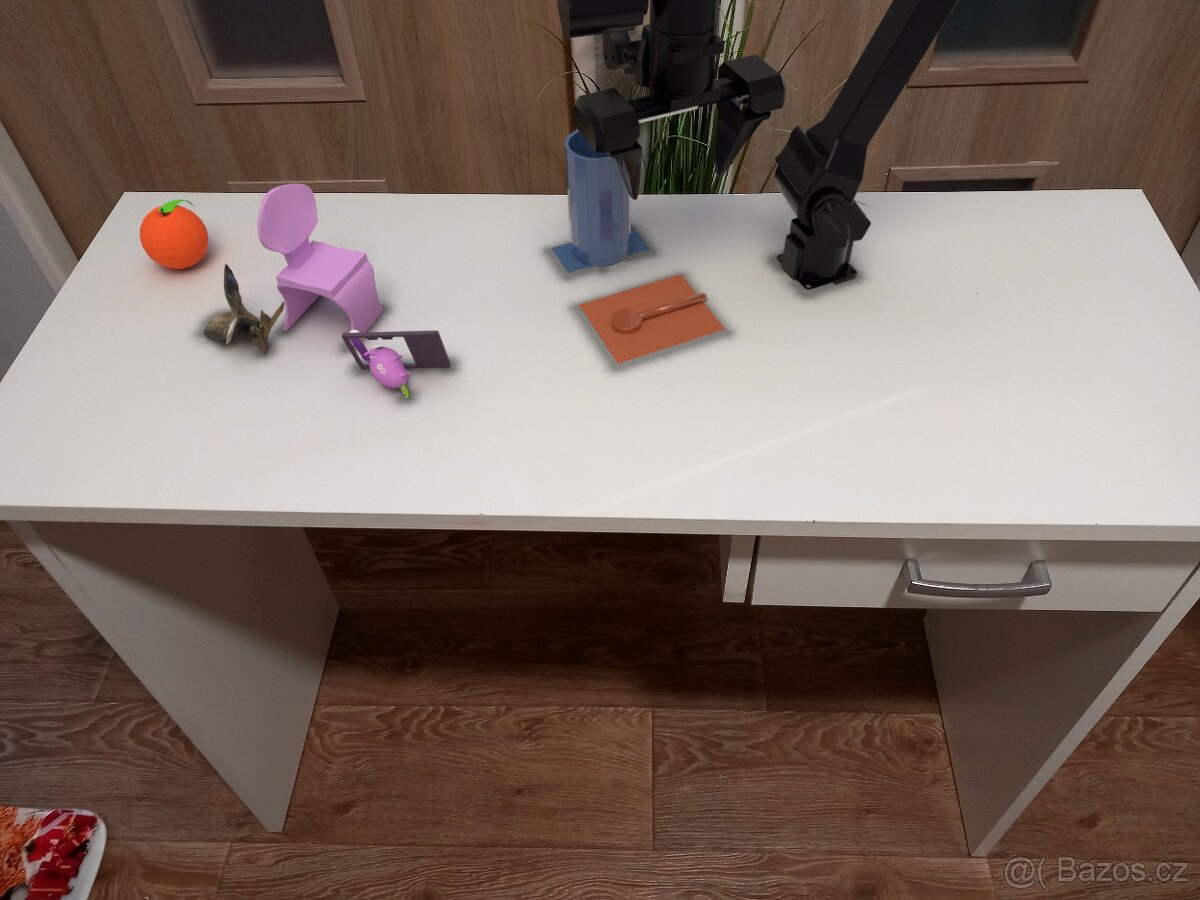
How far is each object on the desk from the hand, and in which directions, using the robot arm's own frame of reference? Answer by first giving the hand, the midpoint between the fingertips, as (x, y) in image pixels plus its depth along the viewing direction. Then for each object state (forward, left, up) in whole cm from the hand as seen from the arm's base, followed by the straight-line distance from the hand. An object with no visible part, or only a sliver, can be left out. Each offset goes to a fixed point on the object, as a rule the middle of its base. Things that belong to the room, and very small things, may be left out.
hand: (676, 186), depth 87 cm
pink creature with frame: (+30, +1, -13) cm, 33 cm away
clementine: (+47, -29, -13) cm, 57 cm away
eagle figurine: (+43, -13, -13) cm, 47 cm away
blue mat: (+4, -10, -13) cm, 17 cm away
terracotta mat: (+4, +3, -13) cm, 14 cm away
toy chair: (+34, -11, -13) cm, 38 cm away
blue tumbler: (+4, -10, -12) cm, 16 cm away
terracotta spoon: (+3, +3, -13) cm, 13 cm away
